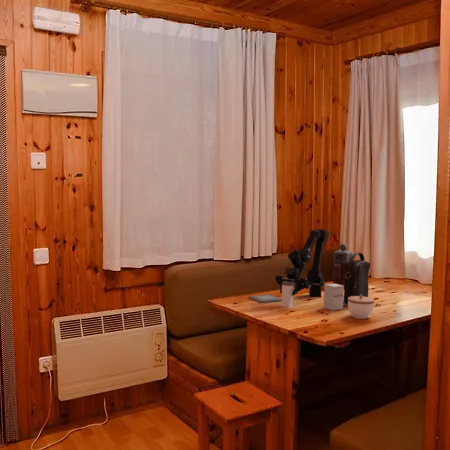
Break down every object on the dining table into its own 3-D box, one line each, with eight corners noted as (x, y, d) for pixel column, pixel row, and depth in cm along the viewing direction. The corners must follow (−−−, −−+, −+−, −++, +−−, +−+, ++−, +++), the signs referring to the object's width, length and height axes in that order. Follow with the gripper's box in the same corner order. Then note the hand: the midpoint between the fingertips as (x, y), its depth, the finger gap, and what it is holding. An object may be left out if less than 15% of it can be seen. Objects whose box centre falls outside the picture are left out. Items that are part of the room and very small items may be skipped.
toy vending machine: (331, 288, 328) (332, 244, 326) (337, 285, 337) (339, 242, 335) (344, 290, 323) (346, 245, 321) (350, 287, 333) (352, 243, 330)
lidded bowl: (374, 321, 251) (375, 298, 251) (347, 319, 254) (348, 296, 253) (372, 314, 264) (373, 293, 263) (346, 313, 266) (347, 291, 265)
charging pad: (271, 296, 302) (271, 294, 302) (283, 301, 289) (283, 299, 289) (249, 297, 296) (249, 295, 296) (260, 303, 283) (260, 301, 283)
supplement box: (332, 310, 270) (333, 286, 269) (323, 307, 277) (324, 284, 276) (343, 309, 274) (344, 285, 273) (334, 306, 280) (335, 283, 279)
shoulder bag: (357, 297, 303) (359, 249, 301) (372, 300, 297) (374, 251, 295) (339, 304, 285) (341, 253, 283) (355, 307, 279) (357, 255, 277)
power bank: (285, 304, 282) (286, 280, 280) (293, 305, 279) (294, 281, 278) (281, 306, 278) (282, 282, 277) (289, 307, 275) (289, 283, 274)
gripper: (277, 260, 285) (266, 282, 277) (308, 263, 274) (297, 287, 266) (283, 272, 292) (273, 295, 284) (314, 276, 281) (304, 300, 273)
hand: (286, 294), depth 277 cm, fingers open, 7 cm apart
